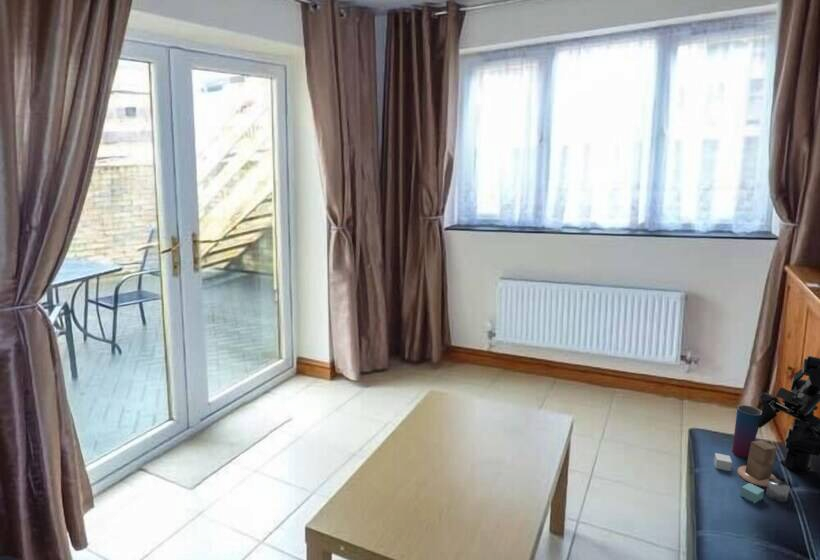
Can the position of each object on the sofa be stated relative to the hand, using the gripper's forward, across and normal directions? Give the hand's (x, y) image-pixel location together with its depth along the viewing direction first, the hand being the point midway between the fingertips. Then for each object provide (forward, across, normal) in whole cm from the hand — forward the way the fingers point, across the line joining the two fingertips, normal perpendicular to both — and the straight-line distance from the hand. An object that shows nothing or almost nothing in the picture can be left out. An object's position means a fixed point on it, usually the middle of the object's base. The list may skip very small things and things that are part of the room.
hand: (772, 434), depth 163 cm
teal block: (+19, +8, 0) cm, 21 cm away
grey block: (+16, -7, +3) cm, 17 cm away
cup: (+7, -11, +12) cm, 18 cm away
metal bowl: (+14, +9, +5) cm, 17 cm away
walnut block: (+11, 0, +7) cm, 13 cm away
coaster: (+11, 0, +7) cm, 14 cm away
